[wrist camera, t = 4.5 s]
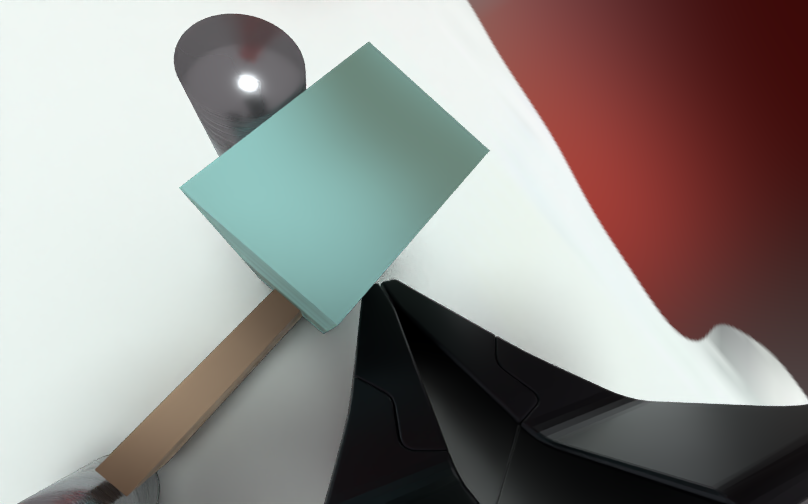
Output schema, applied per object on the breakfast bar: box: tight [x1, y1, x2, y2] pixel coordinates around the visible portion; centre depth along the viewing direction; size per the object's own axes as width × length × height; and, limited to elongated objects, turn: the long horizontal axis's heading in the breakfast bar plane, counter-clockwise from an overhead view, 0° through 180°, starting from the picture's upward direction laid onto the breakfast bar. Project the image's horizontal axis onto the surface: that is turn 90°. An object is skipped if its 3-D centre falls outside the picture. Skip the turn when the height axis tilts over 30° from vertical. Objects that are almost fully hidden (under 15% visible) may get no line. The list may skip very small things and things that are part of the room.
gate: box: [95, 42, 489, 496], centre depth 10 cm, size 12×4×10 cm, turn 141°
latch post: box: [174, 14, 306, 157], centre depth 12 cm, size 2×2×10 cm
